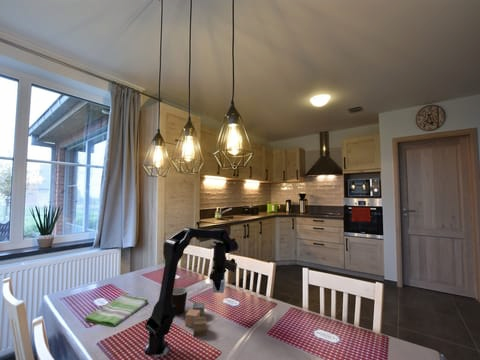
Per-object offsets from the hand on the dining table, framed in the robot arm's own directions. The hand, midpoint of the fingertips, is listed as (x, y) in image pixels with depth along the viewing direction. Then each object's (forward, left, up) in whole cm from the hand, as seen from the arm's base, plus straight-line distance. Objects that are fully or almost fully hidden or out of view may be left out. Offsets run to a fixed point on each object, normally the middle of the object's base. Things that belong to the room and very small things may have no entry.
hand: (218, 288), depth 109 cm
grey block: (0, +10, -13) cm, 16 cm away
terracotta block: (-7, +11, -13) cm, 18 cm away
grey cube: (0, 0, -1) cm, 1 cm away
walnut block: (-13, +6, -13) cm, 19 cm away
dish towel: (+1, +49, -14) cm, 51 cm away
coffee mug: (+4, +20, -13) cm, 24 cm away
